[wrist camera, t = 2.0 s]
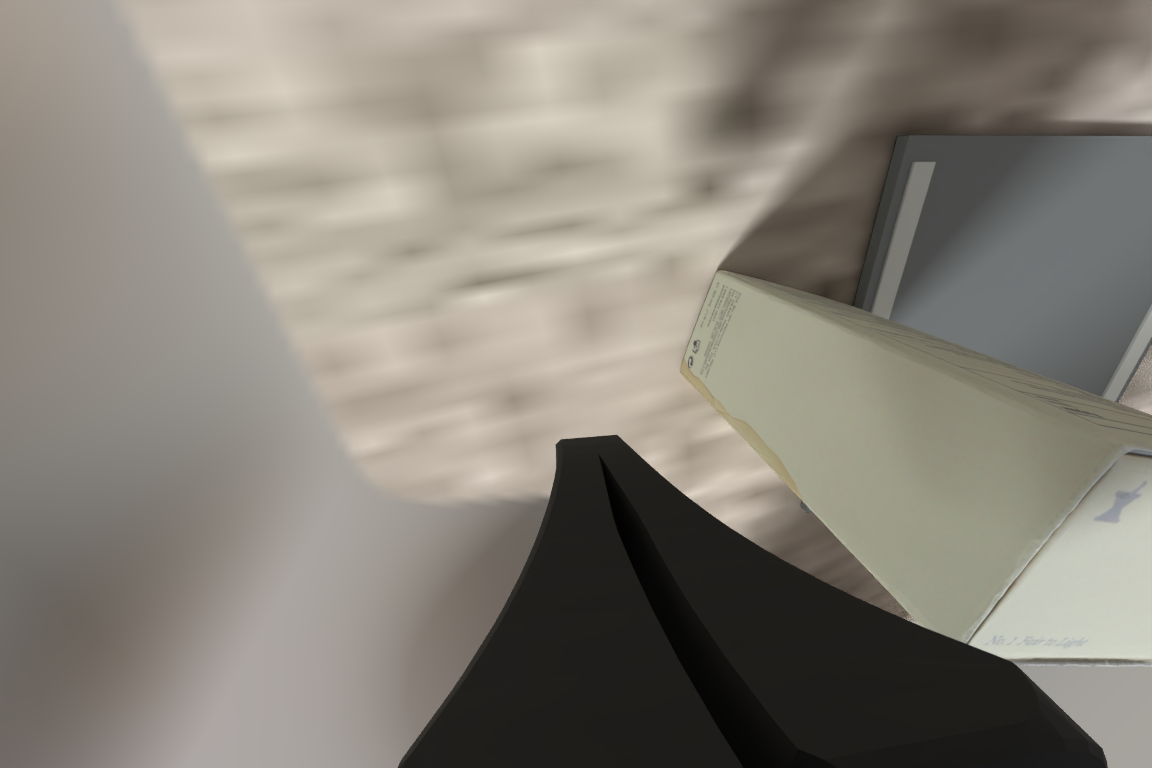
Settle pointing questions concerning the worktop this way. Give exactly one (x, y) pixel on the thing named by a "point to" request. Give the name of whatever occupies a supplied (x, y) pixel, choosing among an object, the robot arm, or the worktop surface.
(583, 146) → the worktop surface
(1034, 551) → the skincare box
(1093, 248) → the mat
